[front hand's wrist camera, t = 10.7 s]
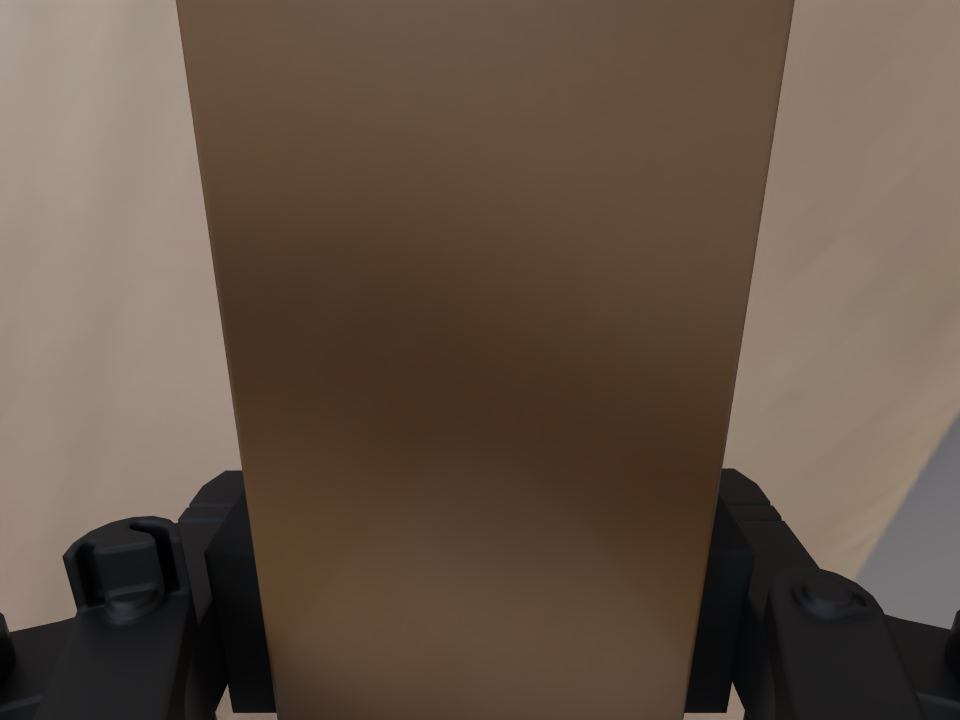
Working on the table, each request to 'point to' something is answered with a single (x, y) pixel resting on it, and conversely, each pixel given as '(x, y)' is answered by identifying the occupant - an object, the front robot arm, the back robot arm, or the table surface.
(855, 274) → the table surface
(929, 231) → the table surface
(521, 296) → the post
